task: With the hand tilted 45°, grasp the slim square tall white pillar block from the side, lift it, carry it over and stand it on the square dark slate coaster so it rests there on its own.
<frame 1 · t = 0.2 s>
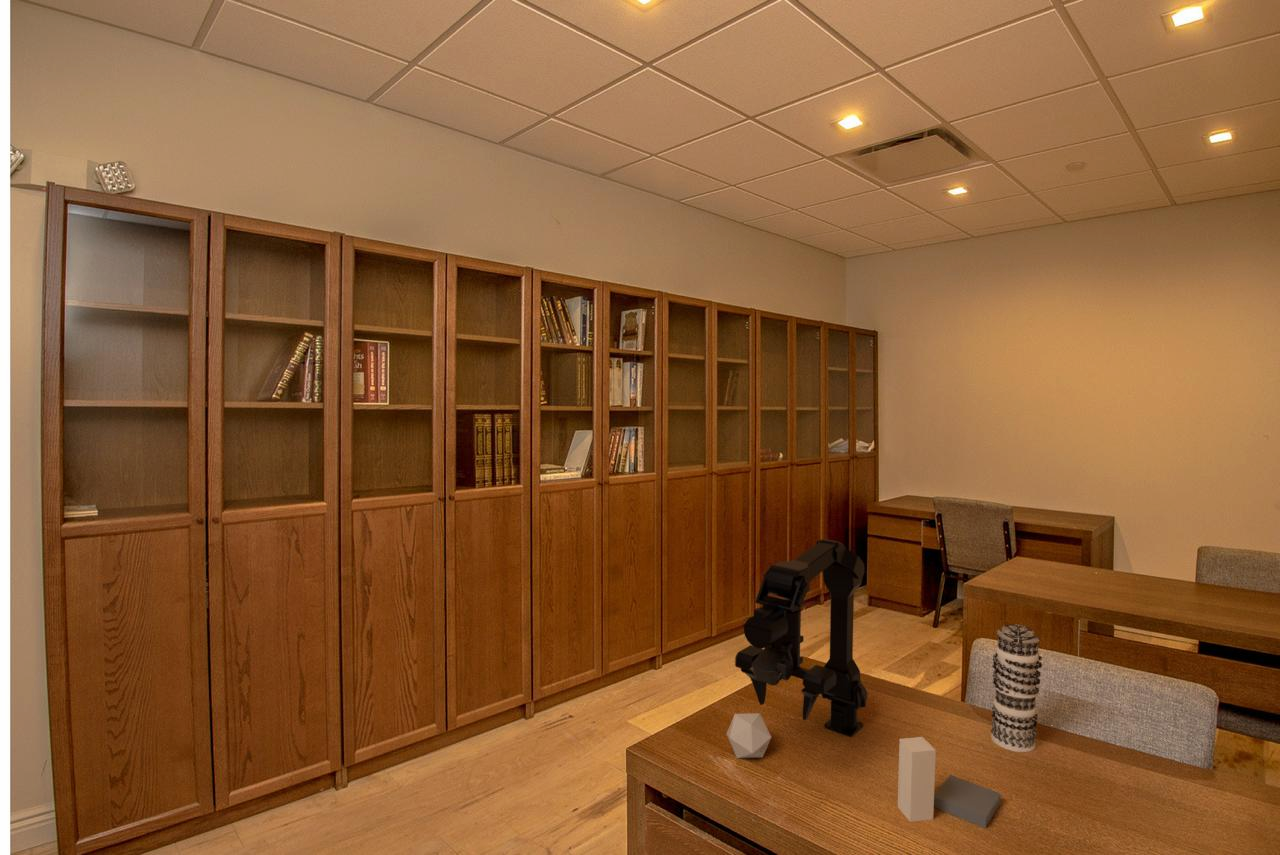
hand: (783, 711, 135), 15 cm above the table, tool pointing down, fingers open, 9 cm apart
decorative candle: (1013, 742, 151), on the table
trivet: (966, 805, 129), on the table
die: (748, 754, 147), on the table
tall white pillar block: (915, 812, 128), on the table
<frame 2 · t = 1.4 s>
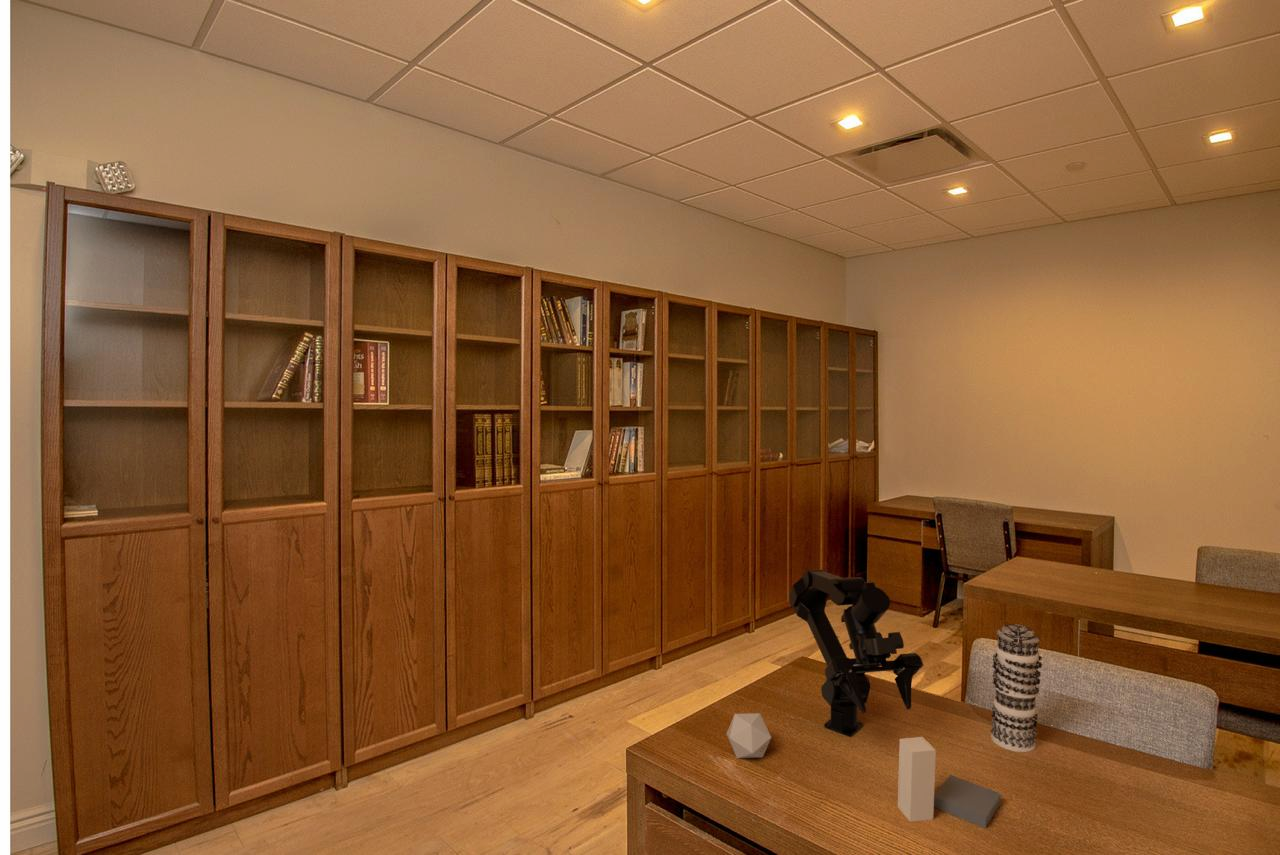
hand: (887, 710, 137), 14 cm above the table, tool tilted 45°, fingers open, 9 cm apart
nothing on the table moved.
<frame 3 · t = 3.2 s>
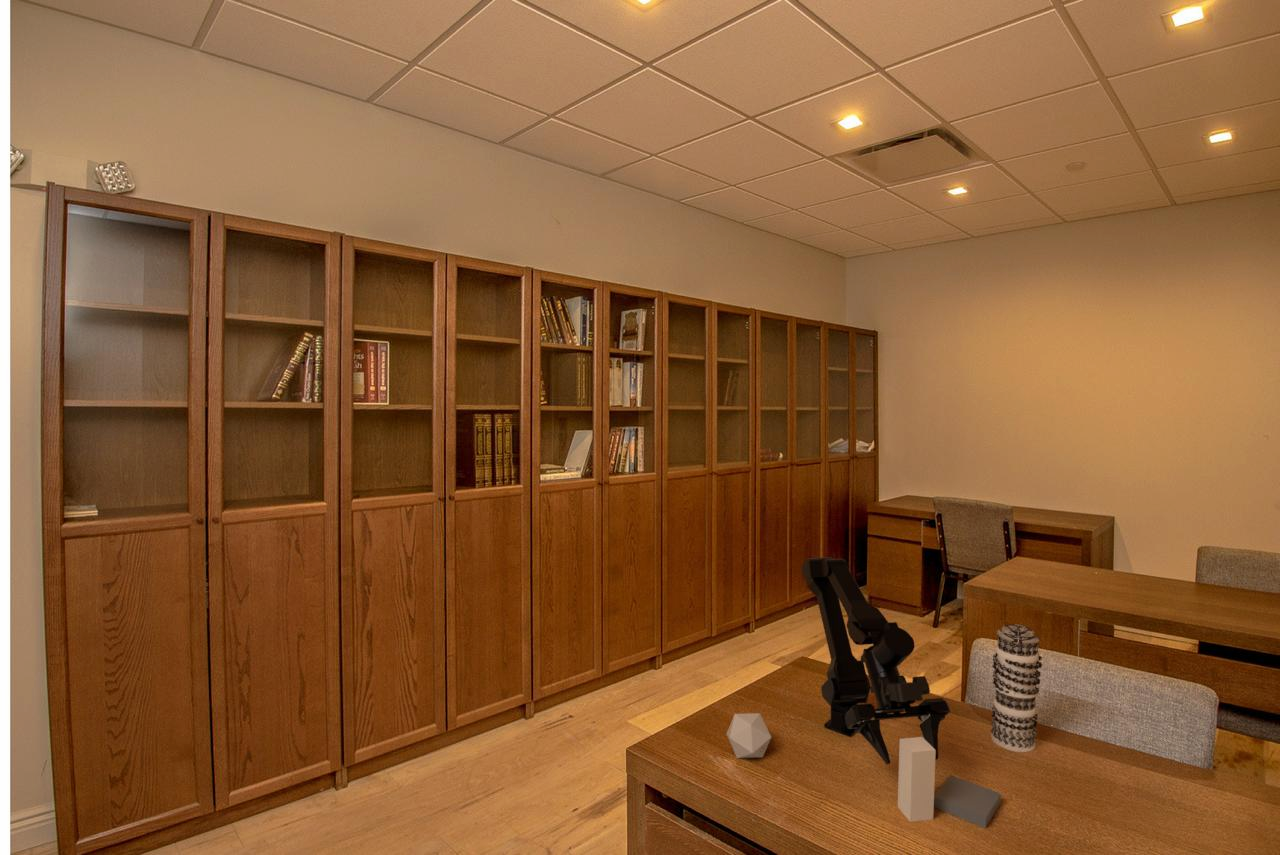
hand: (912, 761, 128), 9 cm above the table, tool tilted 45°, fingers open, 9 cm apart
nothing on the table moved.
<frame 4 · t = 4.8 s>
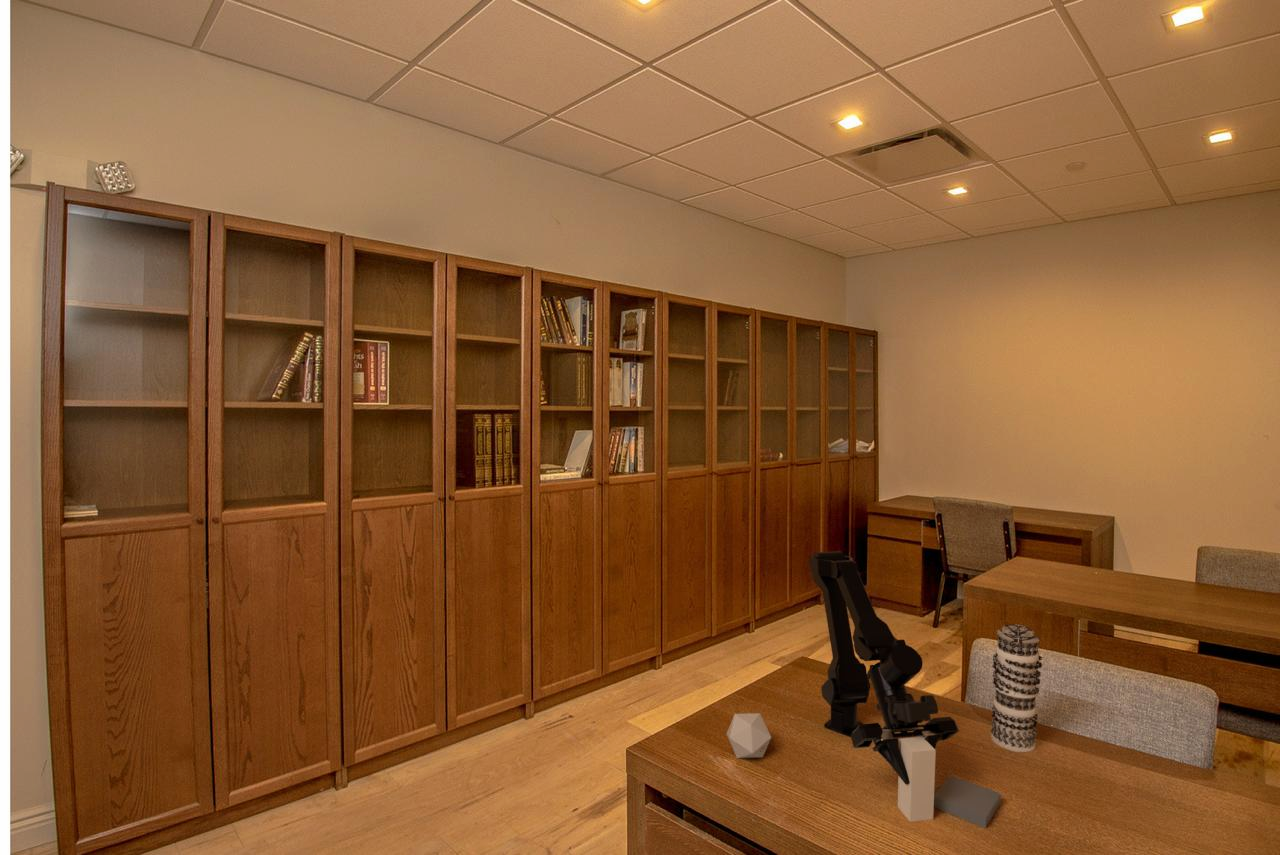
hand: (920, 782, 126), 7 cm above the table, tool tilted 45°, fingers closed on tall white pillar block, 4 cm apart
tall white pillar block: (915, 812, 128), on the table, touching gripper
everything else where it was.
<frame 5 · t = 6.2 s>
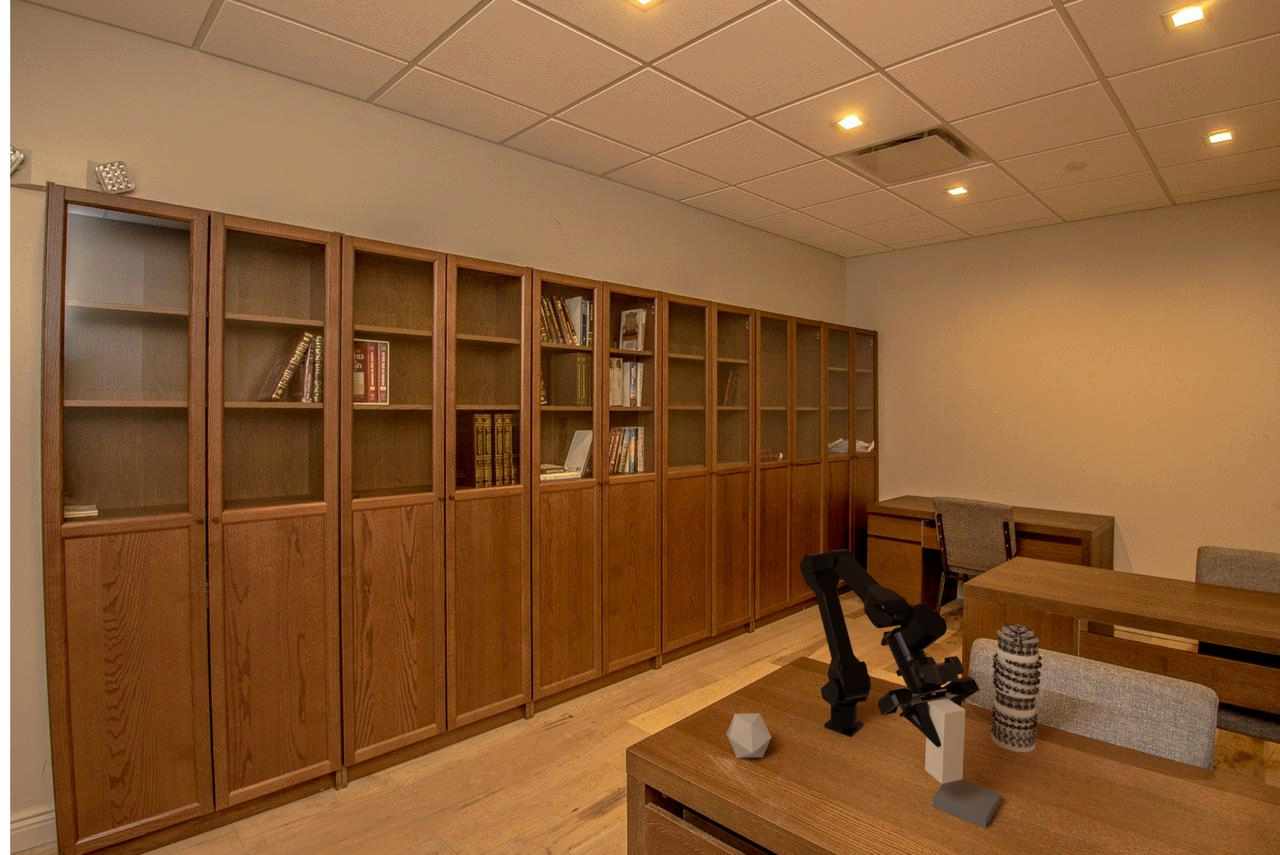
hand: (950, 743, 125), 13 cm above the table, tool tilted 45°, fingers closed on tall white pillar block, 4 cm apart
tall white pillar block: (943, 774, 127), point 7 cm above the table, touching gripper
everything else where it was.
when the fingers open (9 cm above the table, at t = 7.8 s): tall white pillar block stays where it is, resting on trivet.
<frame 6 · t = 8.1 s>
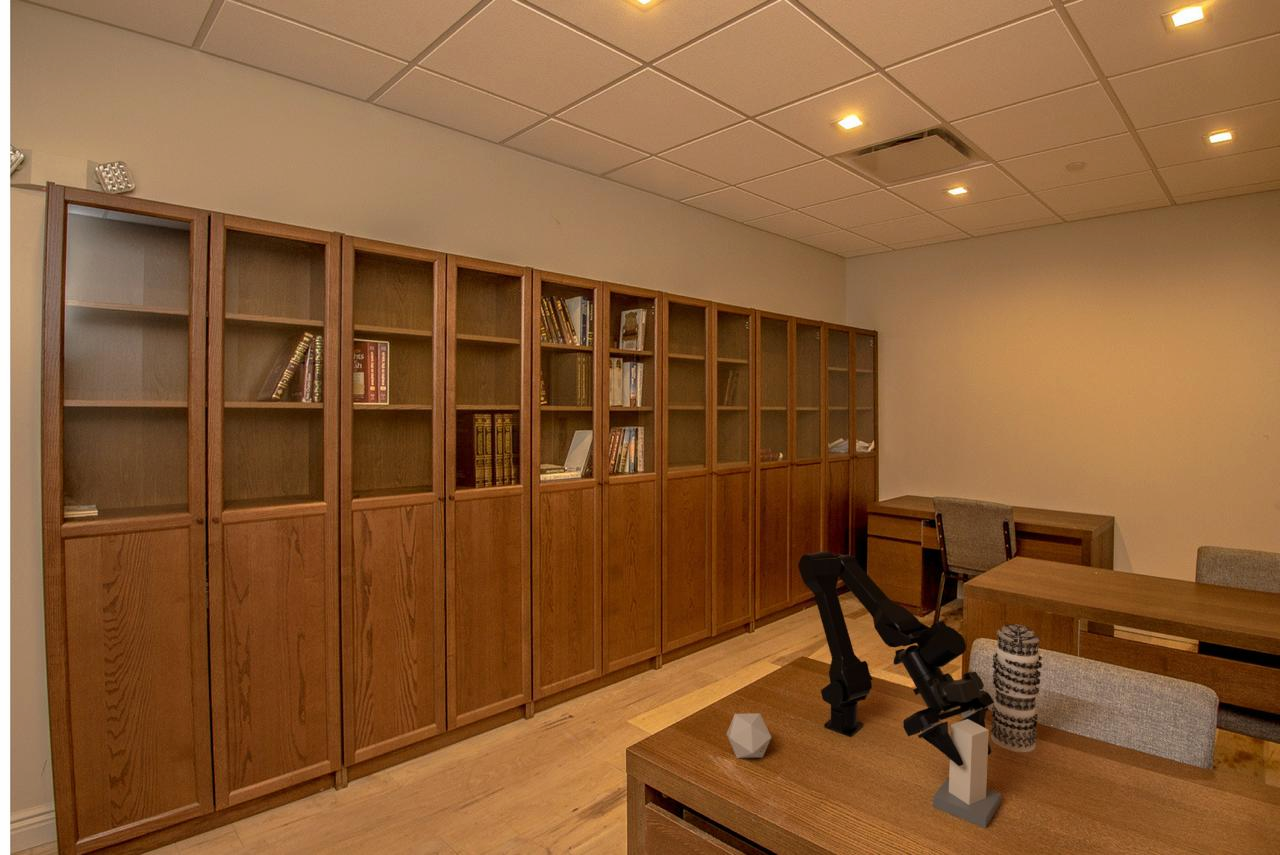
hand: (975, 759, 127), 10 cm above the table, tool tilted 45°, fingers open, 7 cm apart
tall white pillar block: (967, 794, 129), point 2 cm above the table, touching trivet
everything else where it was.
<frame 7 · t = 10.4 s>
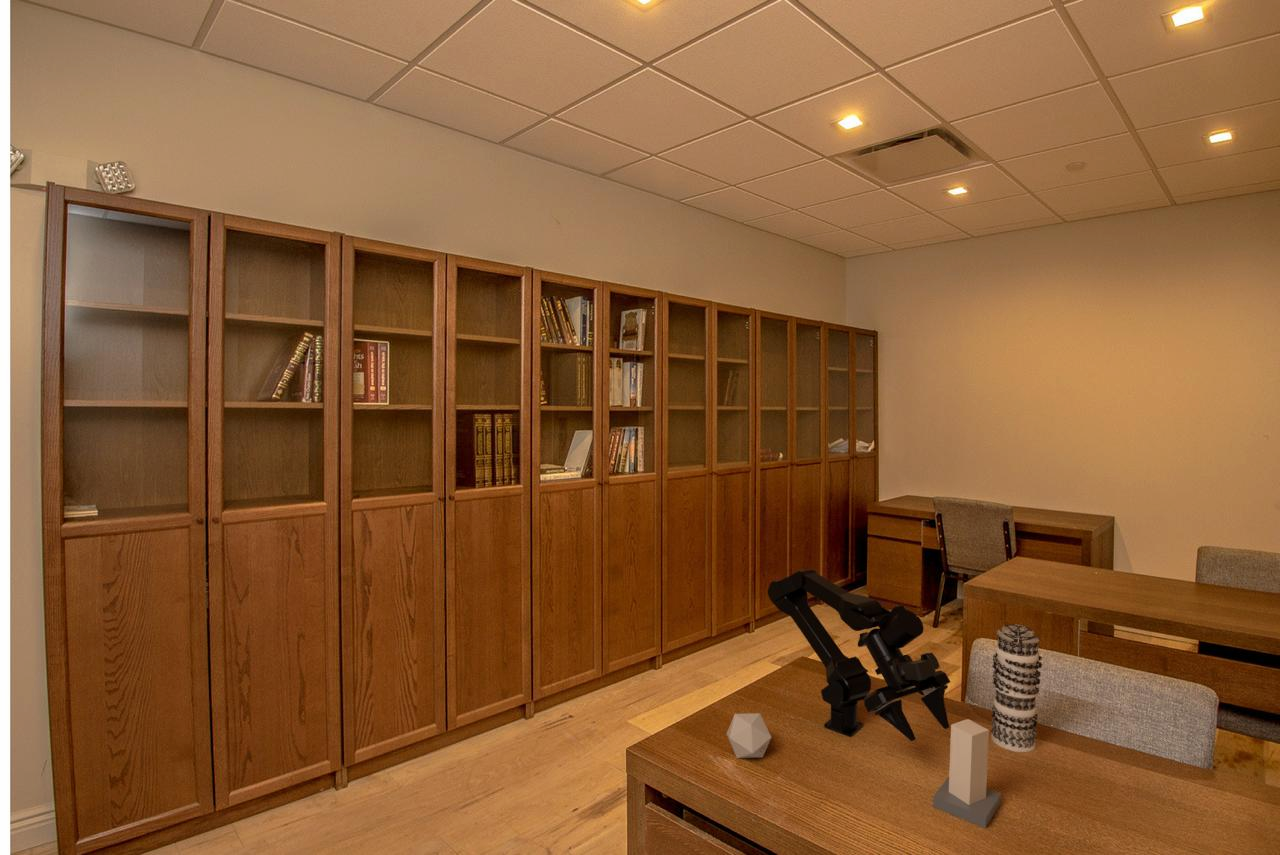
hand: (930, 734, 136), 9 cm above the table, tool tilted 45°, fingers open, 9 cm apart
nothing on the table moved.
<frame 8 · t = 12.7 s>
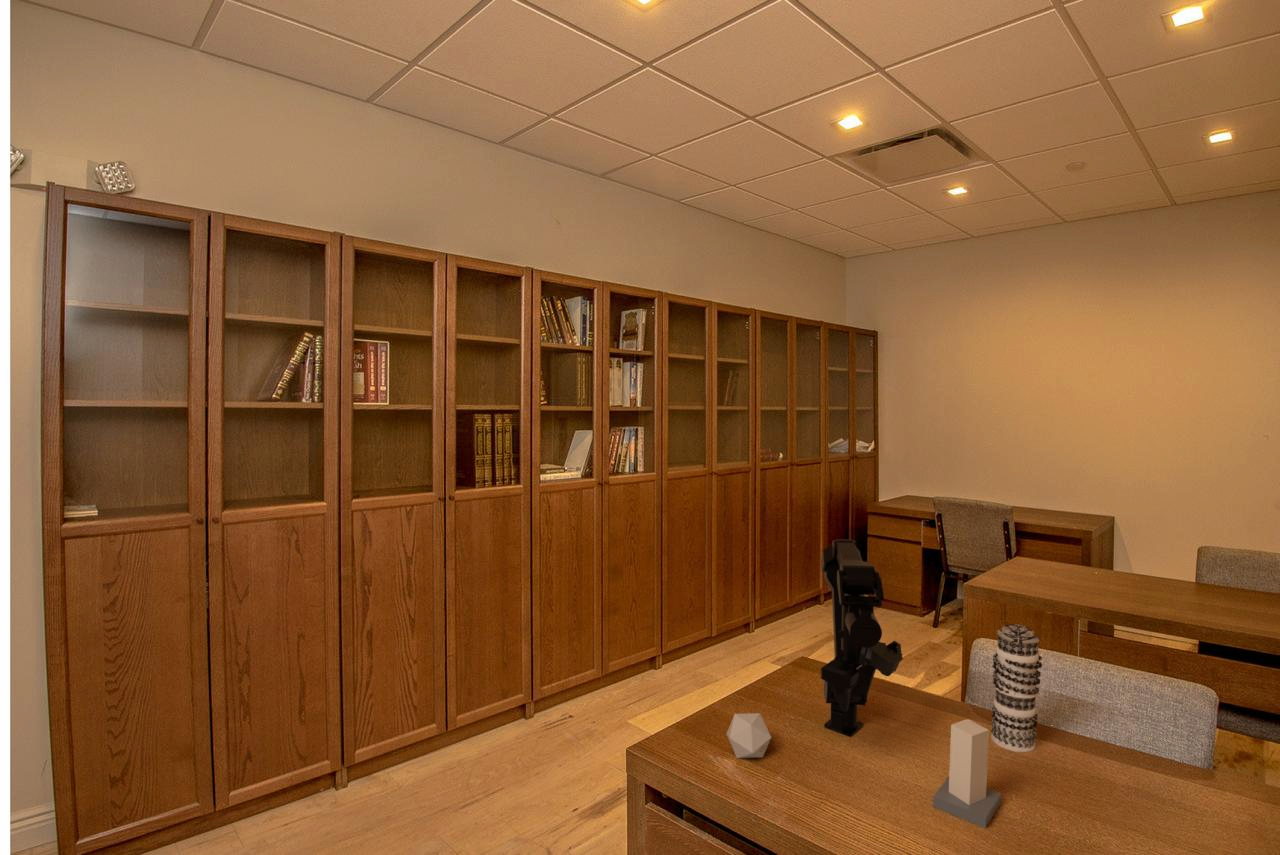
hand: (854, 702, 142), 13 cm above the table, tool pointing down, fingers open, 9 cm apart
nothing on the table moved.
at the end: tall white pillar block 0.0 cm off-centre on the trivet, point 2.0 cm above the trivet's base; tall white pillar block tilted 0°; the gripper is holding nothing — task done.
